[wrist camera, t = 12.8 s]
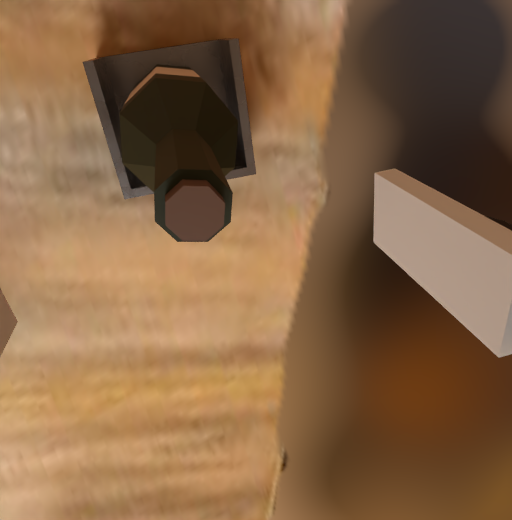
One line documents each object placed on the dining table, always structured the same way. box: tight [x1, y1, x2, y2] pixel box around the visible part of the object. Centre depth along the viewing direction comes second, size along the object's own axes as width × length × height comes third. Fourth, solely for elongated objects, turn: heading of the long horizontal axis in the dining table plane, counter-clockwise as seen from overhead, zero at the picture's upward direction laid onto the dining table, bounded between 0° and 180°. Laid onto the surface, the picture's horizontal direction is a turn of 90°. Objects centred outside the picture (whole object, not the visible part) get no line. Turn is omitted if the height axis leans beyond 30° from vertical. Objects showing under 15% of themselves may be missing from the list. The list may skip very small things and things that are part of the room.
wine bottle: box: [119, 64, 238, 242], centre depth 29 cm, size 8×8×30 cm
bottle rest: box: [83, 38, 256, 199], centre depth 39 cm, size 13×12×8 cm
